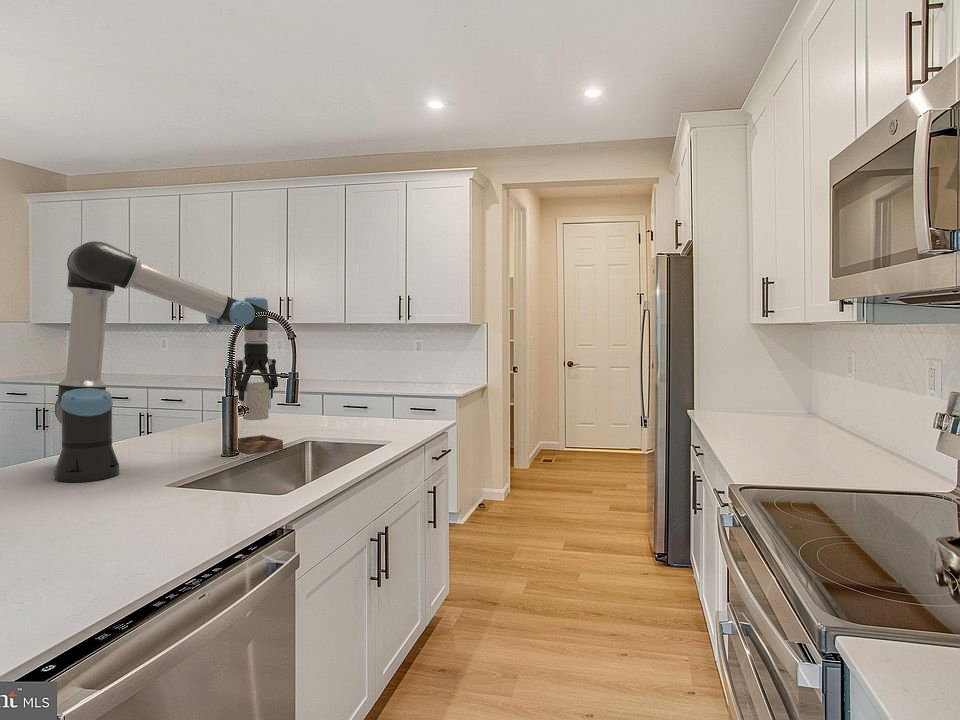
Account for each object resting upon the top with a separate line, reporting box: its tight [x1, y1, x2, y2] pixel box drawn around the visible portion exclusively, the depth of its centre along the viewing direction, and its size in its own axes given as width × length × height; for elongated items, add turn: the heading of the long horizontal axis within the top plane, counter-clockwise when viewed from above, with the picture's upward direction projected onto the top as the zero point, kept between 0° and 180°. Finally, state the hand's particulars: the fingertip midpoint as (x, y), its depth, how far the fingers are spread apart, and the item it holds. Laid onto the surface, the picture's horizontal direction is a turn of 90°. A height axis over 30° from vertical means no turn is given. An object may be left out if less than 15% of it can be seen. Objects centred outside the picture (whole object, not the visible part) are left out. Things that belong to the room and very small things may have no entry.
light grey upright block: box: [242, 381, 269, 421], centre depth 211 cm, size 8×8×12 cm
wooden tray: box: [237, 434, 284, 455], centre depth 212 cm, size 13×13×3 cm
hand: (255, 409), depth 211 cm, fingers closed on light grey upright block, 8 cm apart
